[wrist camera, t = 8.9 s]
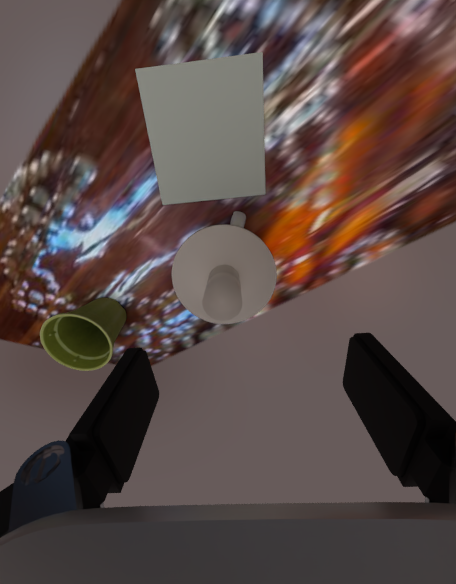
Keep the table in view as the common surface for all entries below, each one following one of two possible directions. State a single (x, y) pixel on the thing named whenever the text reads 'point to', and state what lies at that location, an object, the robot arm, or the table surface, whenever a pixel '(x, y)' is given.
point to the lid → (224, 274)
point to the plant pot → (84, 334)
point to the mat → (206, 127)
